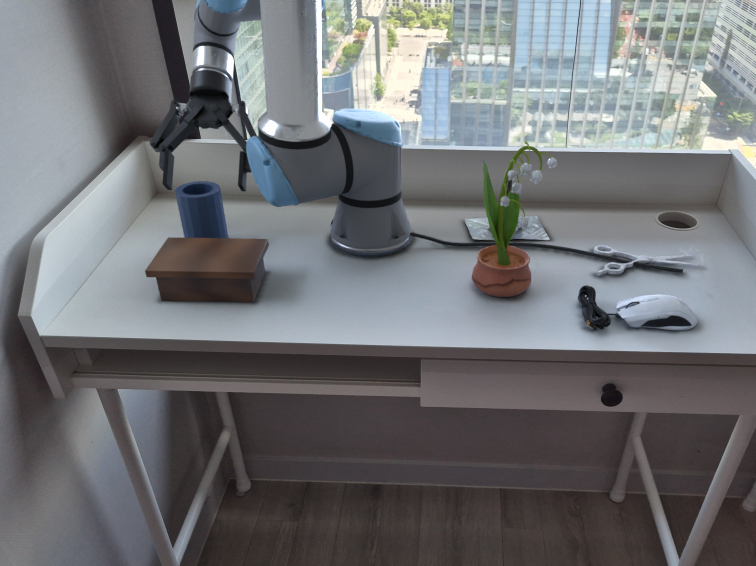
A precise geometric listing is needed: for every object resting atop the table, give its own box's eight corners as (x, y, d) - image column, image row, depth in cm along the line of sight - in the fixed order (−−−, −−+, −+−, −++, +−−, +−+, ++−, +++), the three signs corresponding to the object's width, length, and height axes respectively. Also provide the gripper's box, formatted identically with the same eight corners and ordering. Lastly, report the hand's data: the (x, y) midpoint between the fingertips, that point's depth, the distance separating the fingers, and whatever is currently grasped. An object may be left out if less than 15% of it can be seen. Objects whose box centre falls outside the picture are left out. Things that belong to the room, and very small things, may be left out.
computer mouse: (704, 337, 105) (711, 314, 103) (584, 334, 106) (588, 311, 103) (686, 303, 113) (692, 282, 111) (574, 300, 114) (578, 279, 111)
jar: (233, 237, 131) (224, 181, 125) (223, 255, 125) (213, 197, 119) (193, 236, 131) (182, 180, 125) (181, 255, 125) (169, 197, 119)
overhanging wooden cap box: (272, 270, 121) (268, 238, 117) (258, 305, 111) (253, 272, 108) (175, 268, 121) (167, 237, 117) (153, 303, 111) (144, 270, 108)
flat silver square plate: (537, 218, 140) (545, 152, 132) (550, 240, 132) (559, 171, 124) (464, 220, 139) (467, 154, 131) (472, 242, 131) (476, 173, 123)
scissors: (585, 245, 129) (692, 244, 129) (584, 249, 129) (691, 248, 129) (597, 272, 120) (712, 272, 120) (596, 276, 120) (711, 276, 121)
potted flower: (546, 280, 119) (567, 133, 104) (534, 308, 112) (554, 154, 97) (479, 268, 122) (490, 124, 107) (463, 295, 115) (472, 144, 100)
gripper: (282, 91, 133) (277, 197, 129) (152, 89, 133) (144, 194, 130) (274, 68, 125) (268, 180, 122) (136, 66, 125) (127, 177, 122)
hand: (204, 187), depth 126 cm, fingers open, 13 cm apart
